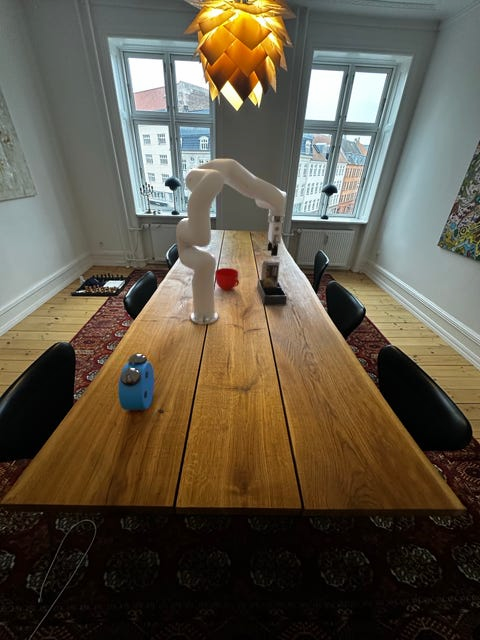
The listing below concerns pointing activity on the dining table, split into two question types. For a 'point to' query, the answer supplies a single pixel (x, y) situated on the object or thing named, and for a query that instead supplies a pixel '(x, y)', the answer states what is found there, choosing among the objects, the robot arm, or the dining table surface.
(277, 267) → the coffee box
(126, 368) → the alarm clock
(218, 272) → the ceramic cup
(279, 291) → the black divided tray
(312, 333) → the dining table surface
